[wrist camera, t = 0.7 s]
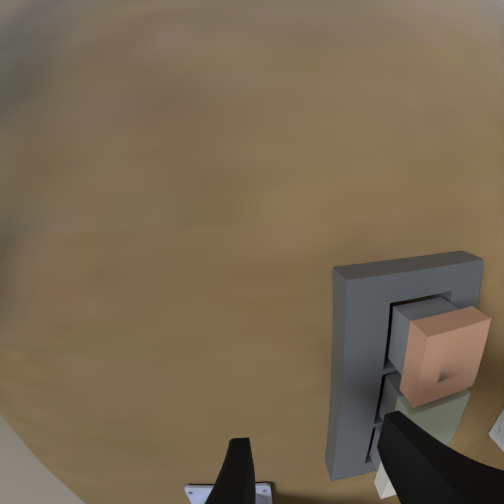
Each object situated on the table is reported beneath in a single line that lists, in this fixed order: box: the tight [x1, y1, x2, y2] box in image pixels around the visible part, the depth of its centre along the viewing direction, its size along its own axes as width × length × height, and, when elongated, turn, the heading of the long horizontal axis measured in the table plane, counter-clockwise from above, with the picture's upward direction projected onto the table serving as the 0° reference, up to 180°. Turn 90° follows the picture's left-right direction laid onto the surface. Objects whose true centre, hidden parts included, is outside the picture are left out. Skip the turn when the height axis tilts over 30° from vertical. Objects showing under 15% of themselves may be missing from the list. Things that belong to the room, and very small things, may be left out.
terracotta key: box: [388, 297, 491, 408], centre depth 15 cm, size 4×4×5 cm
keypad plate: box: [325, 251, 483, 481], centre depth 19 cm, size 18×10×2 cm, turn 5°
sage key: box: [379, 372, 471, 444], centre depth 16 cm, size 4×4×5 cm
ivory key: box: [369, 426, 449, 499], centre depth 17 cm, size 4×4×5 cm
